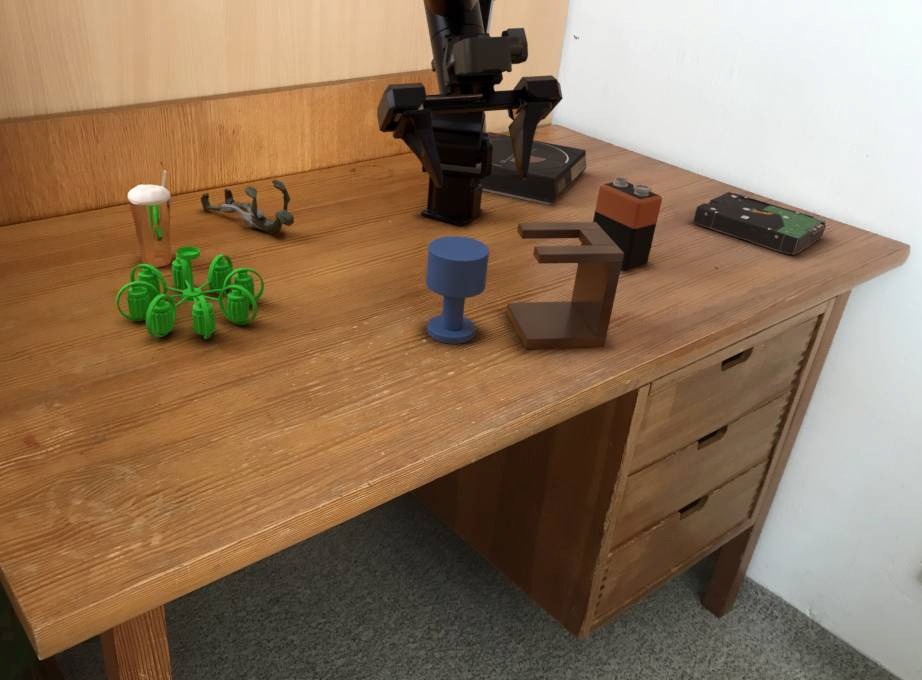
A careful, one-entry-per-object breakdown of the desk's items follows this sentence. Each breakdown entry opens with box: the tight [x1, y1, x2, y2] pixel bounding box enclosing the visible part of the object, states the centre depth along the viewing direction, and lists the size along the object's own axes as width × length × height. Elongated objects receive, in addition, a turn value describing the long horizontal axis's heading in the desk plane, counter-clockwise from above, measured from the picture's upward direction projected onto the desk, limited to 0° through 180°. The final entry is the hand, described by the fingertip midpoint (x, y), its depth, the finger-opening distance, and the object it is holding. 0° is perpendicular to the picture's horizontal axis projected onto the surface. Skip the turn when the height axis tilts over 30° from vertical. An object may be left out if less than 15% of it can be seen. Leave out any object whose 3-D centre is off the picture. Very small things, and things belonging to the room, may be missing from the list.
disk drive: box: [693, 191, 827, 256], centre depth 115 cm, size 10×3×15 cm
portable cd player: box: [480, 131, 587, 206], centre depth 128 cm, size 16×17×4 cm
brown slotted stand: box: [505, 221, 624, 350], centre depth 85 cm, size 8×8×10 cm
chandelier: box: [115, 246, 265, 340], centre depth 84 cm, size 15×15×7 cm
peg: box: [425, 235, 490, 345], centre depth 83 cm, size 6×6×10 cm
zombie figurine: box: [200, 179, 295, 235], centre depth 105 cm, size 5×7×15 cm
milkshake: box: [127, 170, 172, 269], centre depth 94 cm, size 4×5×10 cm
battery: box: [592, 176, 663, 271], centre depth 102 cm, size 4×7×10 cm, turn 35°
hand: (482, 182), depth 85 cm, fingers open, 9 cm apart
